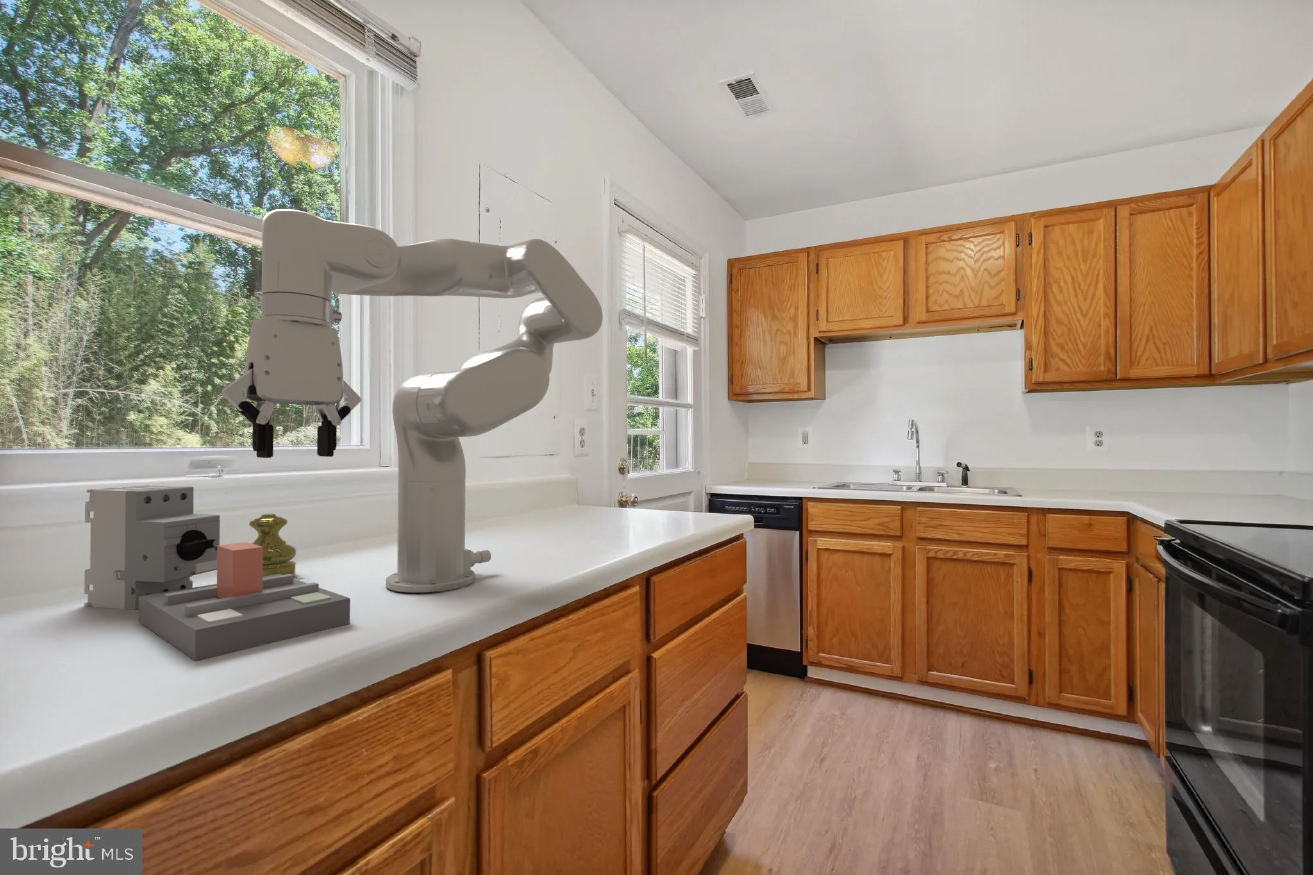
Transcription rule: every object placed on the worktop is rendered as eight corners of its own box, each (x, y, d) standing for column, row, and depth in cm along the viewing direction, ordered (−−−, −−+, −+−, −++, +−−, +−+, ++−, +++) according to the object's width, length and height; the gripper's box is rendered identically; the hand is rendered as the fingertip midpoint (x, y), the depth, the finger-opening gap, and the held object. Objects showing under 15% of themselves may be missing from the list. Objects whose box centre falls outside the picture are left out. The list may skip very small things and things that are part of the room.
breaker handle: (246, 591, 73) (246, 542, 73) (262, 598, 70) (262, 546, 70) (216, 596, 70) (217, 545, 70) (232, 603, 67) (232, 550, 67)
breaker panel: (279, 595, 82) (279, 566, 82) (349, 623, 70) (350, 589, 70) (138, 621, 70) (138, 587, 70) (194, 660, 58) (195, 619, 58)
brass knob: (301, 572, 97) (301, 510, 97) (289, 583, 90) (289, 516, 90) (248, 575, 94) (248, 512, 94) (231, 586, 87) (232, 518, 87)
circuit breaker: (174, 613, 74) (175, 492, 74) (84, 605, 77) (85, 489, 77) (229, 597, 81) (230, 487, 81) (144, 591, 84) (145, 485, 84)
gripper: (352, 327, 84) (351, 455, 84) (203, 305, 70) (202, 457, 70) (379, 322, 80) (378, 456, 79) (227, 296, 66) (225, 459, 66)
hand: (296, 455), depth 75 cm, fingers open, 6 cm apart
